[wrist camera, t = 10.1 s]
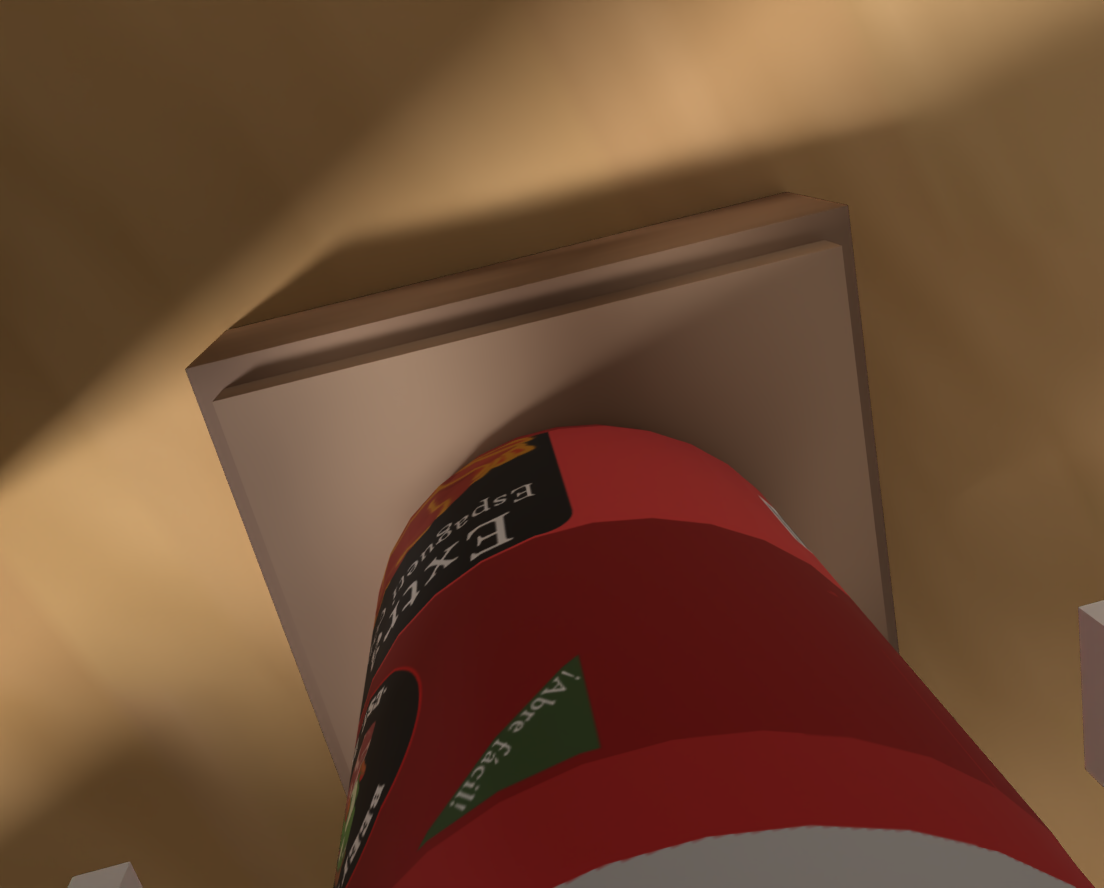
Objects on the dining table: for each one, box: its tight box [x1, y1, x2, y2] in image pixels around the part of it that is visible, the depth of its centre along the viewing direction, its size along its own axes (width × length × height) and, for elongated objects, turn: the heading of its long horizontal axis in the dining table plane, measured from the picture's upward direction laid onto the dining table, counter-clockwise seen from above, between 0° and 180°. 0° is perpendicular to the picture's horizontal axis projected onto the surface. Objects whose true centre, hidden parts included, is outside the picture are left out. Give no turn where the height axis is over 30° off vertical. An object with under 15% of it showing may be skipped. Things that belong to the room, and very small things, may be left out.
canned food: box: [333, 424, 1095, 888], centre depth 13 cm, size 8×8×11 cm
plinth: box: [185, 192, 899, 796], centre depth 20 cm, size 12×12×4 cm
